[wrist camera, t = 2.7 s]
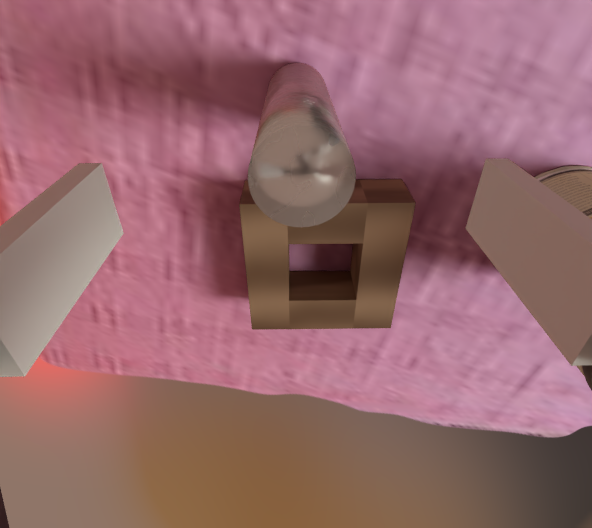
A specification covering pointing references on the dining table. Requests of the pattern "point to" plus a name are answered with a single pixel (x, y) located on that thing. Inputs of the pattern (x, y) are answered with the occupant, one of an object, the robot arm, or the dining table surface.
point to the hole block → (330, 284)
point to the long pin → (300, 152)
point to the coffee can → (582, 195)
